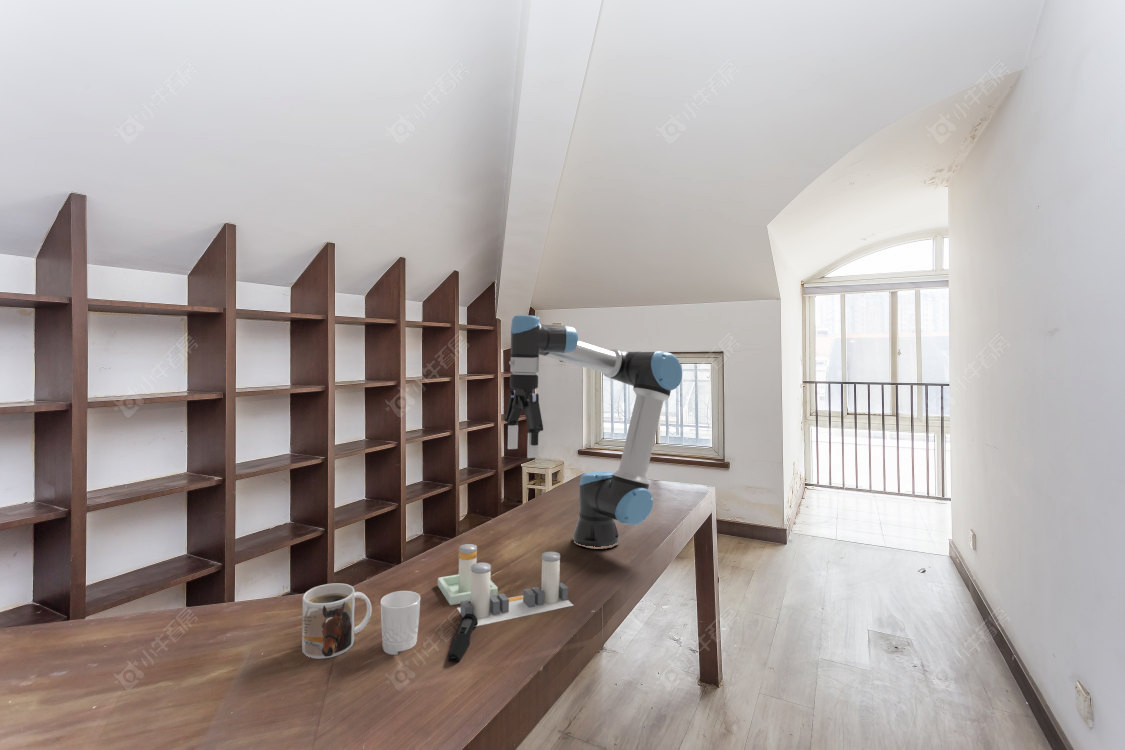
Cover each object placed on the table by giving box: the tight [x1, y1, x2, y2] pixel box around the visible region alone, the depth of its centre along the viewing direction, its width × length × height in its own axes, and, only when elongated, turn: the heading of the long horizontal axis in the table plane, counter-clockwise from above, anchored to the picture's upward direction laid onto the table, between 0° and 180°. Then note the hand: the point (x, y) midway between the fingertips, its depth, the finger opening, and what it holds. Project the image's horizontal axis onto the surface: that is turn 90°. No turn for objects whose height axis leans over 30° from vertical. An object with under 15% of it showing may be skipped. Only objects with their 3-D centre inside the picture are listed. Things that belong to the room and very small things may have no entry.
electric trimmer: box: [447, 614, 478, 662], centre depth 112 cm, size 4×16×3 cm, turn 177°
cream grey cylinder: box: [540, 551, 561, 604], centre depth 132 cm, size 4×4×11 cm
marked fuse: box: [458, 543, 478, 593], centre depth 136 cm, size 4×4×11 cm
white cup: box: [380, 590, 421, 656], centre depth 111 cm, size 8×8×10 cm
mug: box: [301, 582, 372, 660], centre depth 111 cm, size 10×12×11 cm
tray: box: [437, 573, 499, 606], centre depth 136 cm, size 12×12×3 cm
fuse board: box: [456, 581, 574, 628], centre depth 128 cm, size 26×10×4 cm, turn 117°
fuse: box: [470, 562, 492, 619], centre depth 124 cm, size 4×4×11 cm
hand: (522, 453), depth 144 cm, fingers open, 13 cm apart
